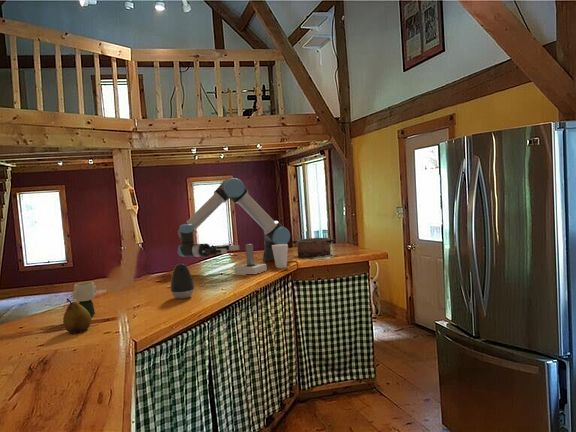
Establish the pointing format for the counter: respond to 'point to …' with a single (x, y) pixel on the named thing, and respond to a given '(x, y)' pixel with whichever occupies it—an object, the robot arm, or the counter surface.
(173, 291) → the black egg shape
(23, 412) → the counter surface
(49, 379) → the counter surface
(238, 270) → the socket block
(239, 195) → the robot arm
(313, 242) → the cooking pot
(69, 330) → the fruit
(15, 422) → the counter surface
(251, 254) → the peg
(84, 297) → the white and green lamp
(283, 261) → the foam cup
